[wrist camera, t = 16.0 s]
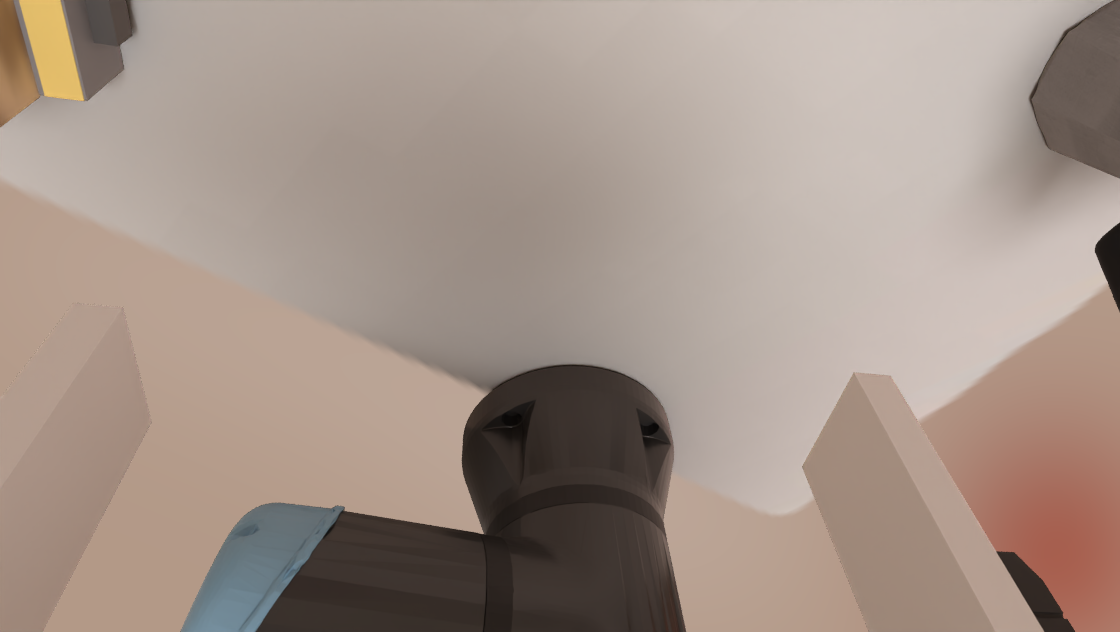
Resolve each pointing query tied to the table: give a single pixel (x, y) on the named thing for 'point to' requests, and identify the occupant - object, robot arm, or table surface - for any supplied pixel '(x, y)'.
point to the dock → (74, 44)
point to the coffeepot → (1087, 110)
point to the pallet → (14, 66)
